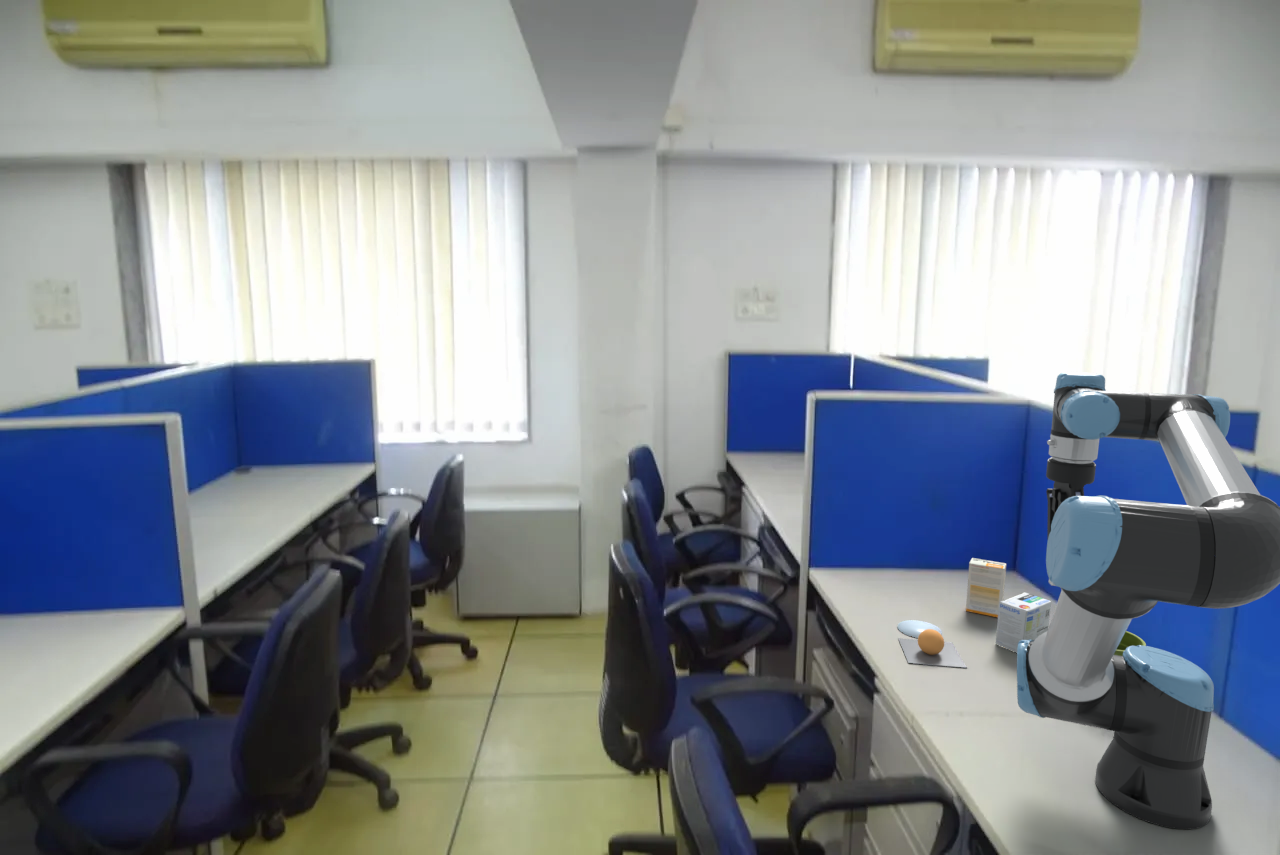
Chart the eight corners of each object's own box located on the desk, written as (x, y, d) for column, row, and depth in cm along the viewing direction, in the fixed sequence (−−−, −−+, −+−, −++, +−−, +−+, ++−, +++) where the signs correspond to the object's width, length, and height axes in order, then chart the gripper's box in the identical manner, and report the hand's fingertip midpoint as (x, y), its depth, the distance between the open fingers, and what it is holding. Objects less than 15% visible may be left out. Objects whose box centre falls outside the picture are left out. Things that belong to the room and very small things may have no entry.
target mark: (966, 668, 157) (966, 667, 157) (908, 663, 159) (908, 662, 159) (952, 643, 169) (952, 642, 169) (898, 639, 171) (898, 638, 171)
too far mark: (946, 640, 170) (946, 640, 170) (901, 637, 172) (901, 636, 172) (936, 622, 180) (936, 621, 180) (894, 619, 181) (894, 618, 181)
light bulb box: (1019, 633, 174) (1024, 590, 172) (1048, 645, 169) (1053, 600, 167) (993, 645, 168) (998, 600, 167) (1022, 656, 163) (1027, 611, 161)
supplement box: (1002, 612, 186) (1007, 563, 184) (1000, 618, 182) (1005, 568, 180) (967, 604, 191) (972, 556, 189) (964, 611, 187) (969, 562, 185)
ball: (944, 661, 162) (948, 642, 159) (918, 659, 163) (922, 640, 160) (939, 643, 167) (943, 624, 164) (914, 640, 168) (917, 622, 165)
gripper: (1035, 451, 138) (1023, 570, 142) (1064, 466, 125) (1050, 596, 129) (1078, 452, 137) (1065, 573, 141) (1112, 468, 124) (1096, 599, 128)
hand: (1058, 584), depth 135 cm, fingers closed
